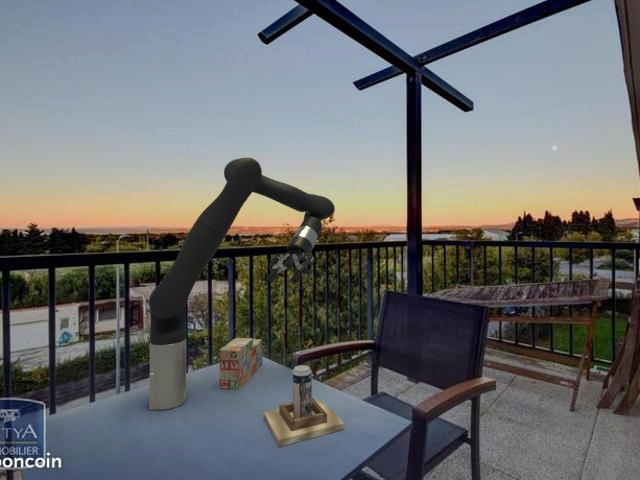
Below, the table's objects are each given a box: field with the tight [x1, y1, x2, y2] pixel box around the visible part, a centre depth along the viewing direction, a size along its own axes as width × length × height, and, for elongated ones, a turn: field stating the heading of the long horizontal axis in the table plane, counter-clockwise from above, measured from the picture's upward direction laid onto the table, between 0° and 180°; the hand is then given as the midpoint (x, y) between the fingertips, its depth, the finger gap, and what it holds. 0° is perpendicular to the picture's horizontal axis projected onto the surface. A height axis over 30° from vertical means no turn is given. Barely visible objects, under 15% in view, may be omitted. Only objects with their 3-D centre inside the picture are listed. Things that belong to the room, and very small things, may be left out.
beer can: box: [292, 364, 313, 419], centre depth 82 cm, size 5×5×12 cm
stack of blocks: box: [219, 337, 263, 391], centre depth 111 cm, size 21×6×12 cm, turn 171°
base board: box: [263, 397, 345, 447], centre depth 82 cm, size 16×13×4 cm
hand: (281, 281), depth 100 cm, fingers open, 8 cm apart
